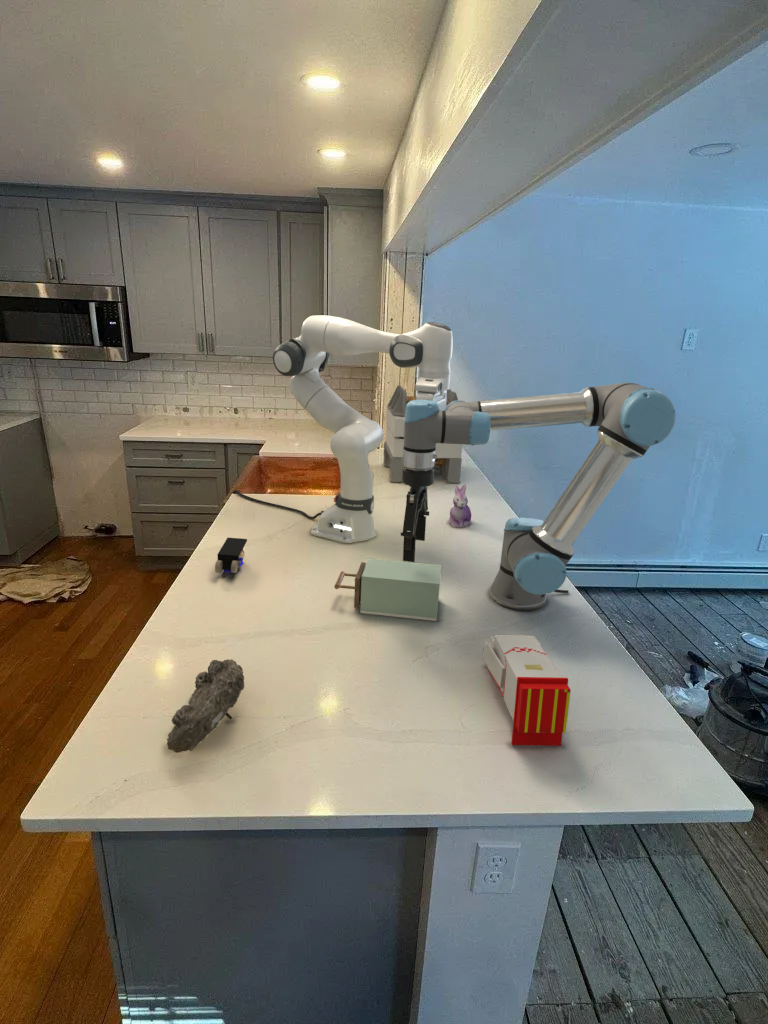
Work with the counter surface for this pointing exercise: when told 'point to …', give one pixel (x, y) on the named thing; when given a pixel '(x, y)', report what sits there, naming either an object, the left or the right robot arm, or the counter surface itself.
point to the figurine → (460, 508)
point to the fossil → (206, 705)
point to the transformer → (394, 439)
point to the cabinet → (400, 589)
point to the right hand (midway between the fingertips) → (414, 550)
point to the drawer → (357, 583)
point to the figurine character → (230, 556)
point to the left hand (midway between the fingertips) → (430, 430)
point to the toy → (529, 689)
